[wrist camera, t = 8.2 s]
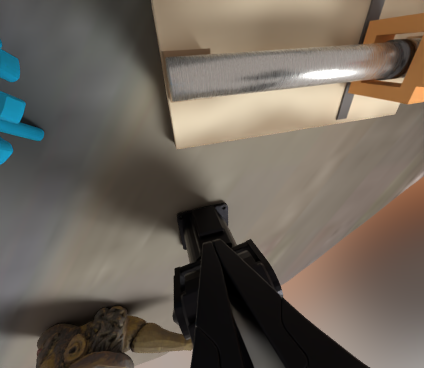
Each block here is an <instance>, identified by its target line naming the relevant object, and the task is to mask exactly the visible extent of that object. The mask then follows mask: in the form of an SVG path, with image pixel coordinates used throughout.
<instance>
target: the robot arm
mask: <svg viewBox="0 0 424 368" xmlns="http://www.w3.org/2000/svg"><path fill="white" fill-rule="evenodd" d="M224 206H225V207H224ZM181 216H182V217H181ZM177 220H178V225H179V230H180V235H181V240H182V244H183V249H185V250H187V252H188V257H189V261H190V264H187V265H185V266H182V267H177V268H175V276H174V310H173V320H174V322H175V323H177V324H178V325H179V326H180V329H181V331H182V334H183V336H184V338H185V339H186V340H188V339H191V341H192V344H193V354H192V361H191V367H190V368H370V367H368V366H367V365H365V364H364V363H362V362H361V361H360V360H358V359H357V358H356V357H354V356H353V355H352V354H351V353H349V352H348V351H347V350H345V349H344V348H343V347H342V346H340V345H339V344H338V343H337V342H335V341H334V340H333V339H331V338H330V337H329V336H328V335H326V334H325V333H324V332H322V331H321V330H320V329H319V328H317V327H316V326H315V325H314V324H312V323H311V322H310V321H309V320H308V319H306V318H305V317H304V316H303V315H302V314H301V313H299V312H298V311H297V310H296V309H295V308H294V307H293V306H292V305H290V304H289V303H288V302H287V301H286V300H285V299H284V298H283V293H282V289H281V286H280V283H279V281H278V279H277V276H276V274H275V272H274V270H273V269H272V267H271V265H270V264H269V262H268V261H267V260H266V258H265V257H264V256H263V254H262V253H261V252H260V250H259V249H258V248H257V247H256V245H255V244H254V243H253V241H252V240H251V239H250V240H247V241H246V242H244V243H242V244H239V245H237V244H236V242H235V240H234V238H233V236H232V234H231V232H230V230H229V228H228V206H227V204H226V203H221V204H217V205H212V206H208V207H203V208H199V209H195V210H190V211H186V212H181V213H179V214H177Z"/></svg>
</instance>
